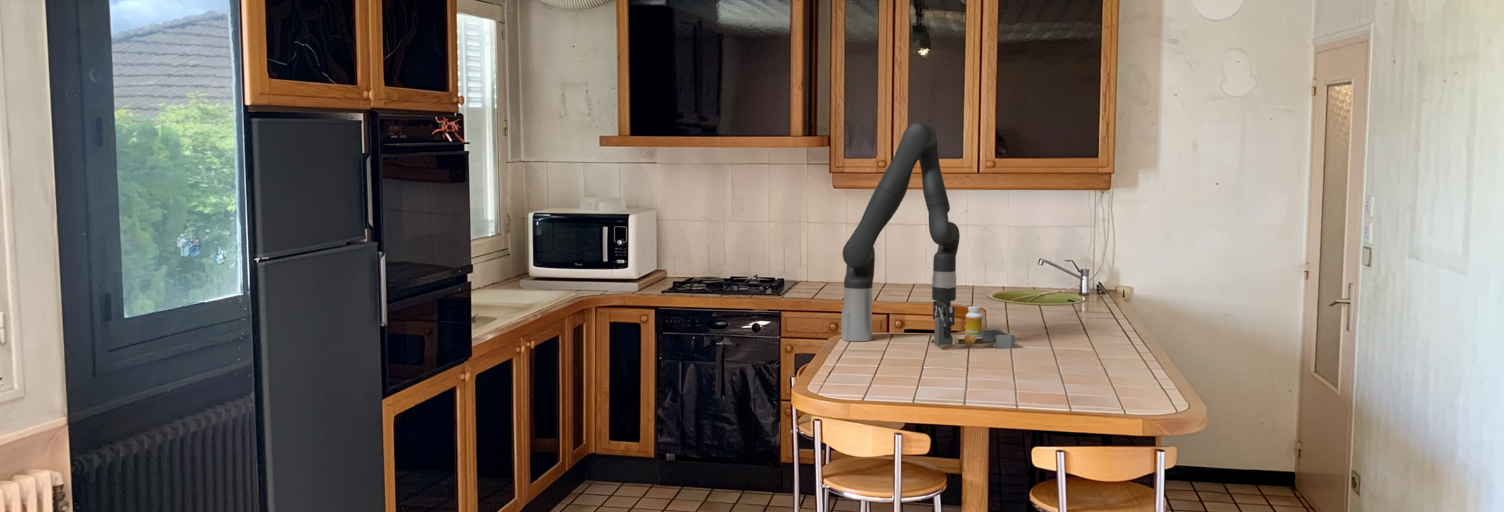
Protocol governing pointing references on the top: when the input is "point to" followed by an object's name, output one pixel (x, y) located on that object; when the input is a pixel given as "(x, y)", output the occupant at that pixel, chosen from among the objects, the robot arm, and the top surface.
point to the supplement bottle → (974, 321)
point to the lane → (966, 345)
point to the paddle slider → (942, 334)
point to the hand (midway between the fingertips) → (943, 336)
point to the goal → (998, 338)
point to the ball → (969, 339)
